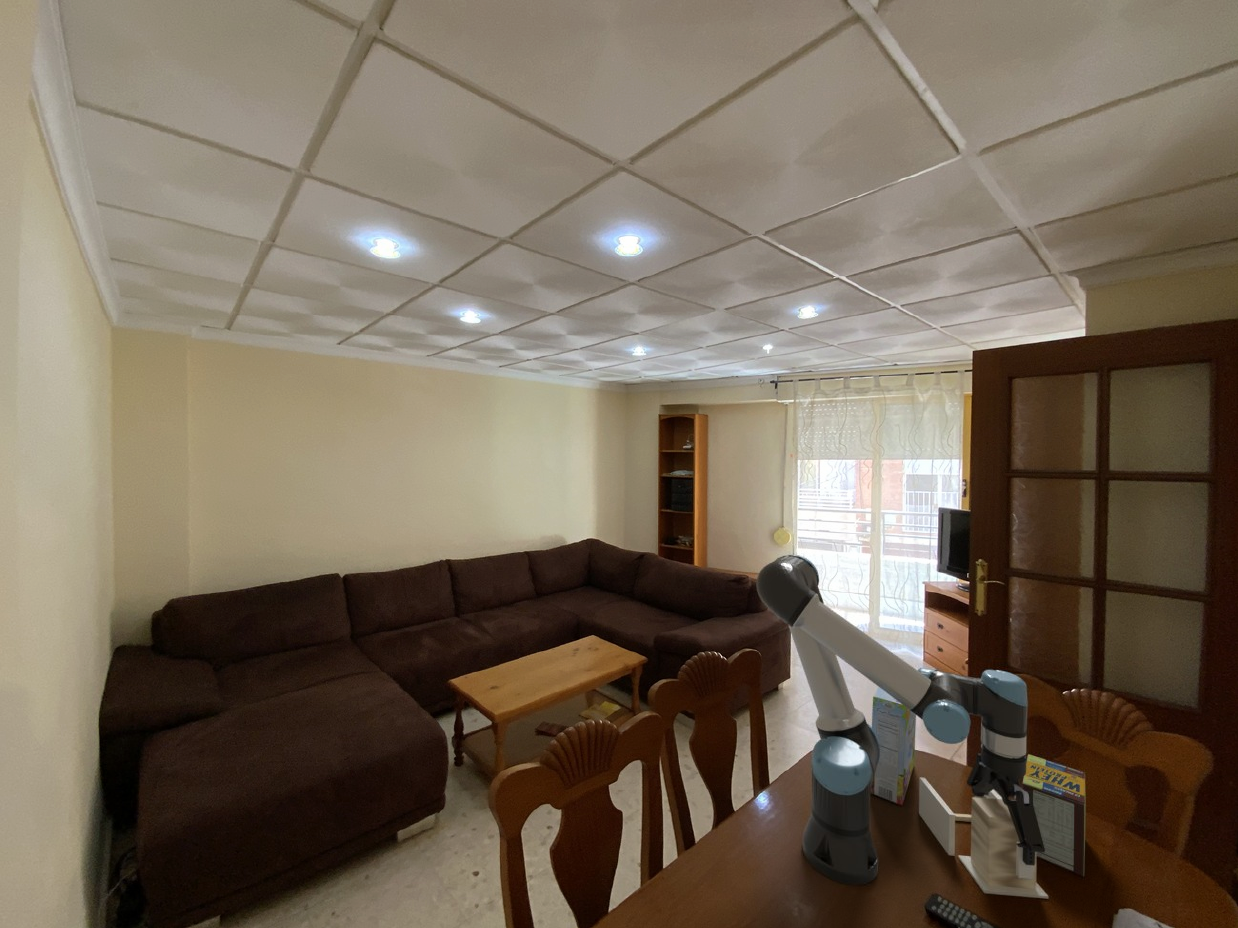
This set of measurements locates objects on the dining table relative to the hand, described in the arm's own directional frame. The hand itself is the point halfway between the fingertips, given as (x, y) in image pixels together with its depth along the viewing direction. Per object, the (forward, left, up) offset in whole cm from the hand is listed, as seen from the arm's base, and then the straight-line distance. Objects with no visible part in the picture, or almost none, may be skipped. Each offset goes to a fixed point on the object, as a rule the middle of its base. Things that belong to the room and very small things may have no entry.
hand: (1001, 849), depth 104 cm
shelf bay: (0, +12, -6) cm, 13 cm away
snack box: (-8, +31, -6) cm, 33 cm away
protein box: (+18, +11, -6) cm, 22 cm away
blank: (0, 0, -5) cm, 5 cm away
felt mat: (0, 0, -6) cm, 6 cm away
